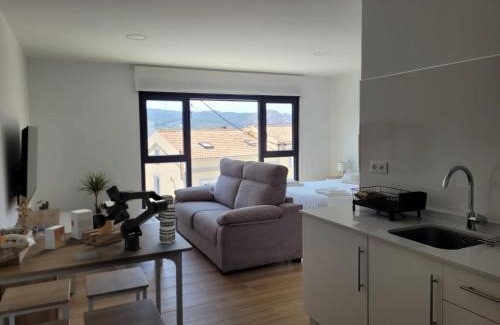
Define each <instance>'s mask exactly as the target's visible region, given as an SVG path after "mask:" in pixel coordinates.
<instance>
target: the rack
mask: <svg viewBox="0 0 500 325" xmlns="http://www.w3.org/2000/svg"><path fill="white" fill-rule="evenodd" d="M122 240H123V238H122V236H121V232H120V230H116V229H114V228H112V232H111V233H107V234H103V235H99V229H98V228H96V229H93V230H91V231H87V232H82V239H81V242H82V243H85V244H88V245H93V246H97V247H100V246H105V245H108V244H112V243H116V242H119V241H122Z"/></svg>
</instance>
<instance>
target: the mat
mask: <svg viewBox="0 0 500 325" xmlns="http://www.w3.org/2000/svg"><path fill="white" fill-rule="evenodd" d="M98 256H99V255H98V254H97V252H96V251H89V252H83V253H75V260H76V261H78V260H86V259H91V258H98Z"/></svg>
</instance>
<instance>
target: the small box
mask: <svg viewBox="0 0 500 325" xmlns="http://www.w3.org/2000/svg"><path fill="white" fill-rule="evenodd" d="M65 230H66V229H65V225H58V224H57V225H56V224H55V225H53V226H50V227H47V228H45V229H44V244H45V250H56V249H59V248H62V247H65V246H66V231H65Z"/></svg>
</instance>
